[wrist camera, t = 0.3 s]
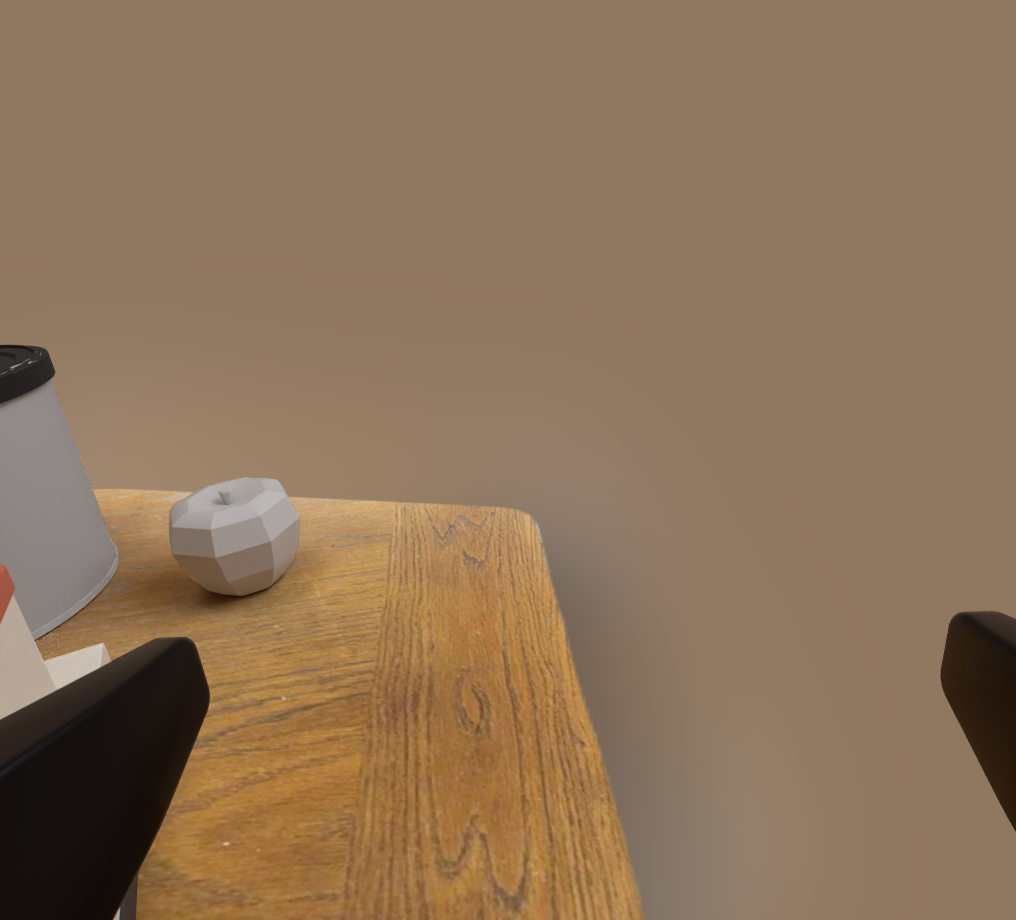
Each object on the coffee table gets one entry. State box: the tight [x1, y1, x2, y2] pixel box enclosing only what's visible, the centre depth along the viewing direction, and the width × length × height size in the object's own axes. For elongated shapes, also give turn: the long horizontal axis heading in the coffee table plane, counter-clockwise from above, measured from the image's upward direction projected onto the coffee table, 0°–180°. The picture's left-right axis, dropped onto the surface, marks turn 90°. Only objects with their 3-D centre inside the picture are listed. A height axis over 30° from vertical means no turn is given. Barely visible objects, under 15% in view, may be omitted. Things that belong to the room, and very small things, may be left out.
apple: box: [169, 477, 300, 596], centre depth 41 cm, size 8×8×7 cm
